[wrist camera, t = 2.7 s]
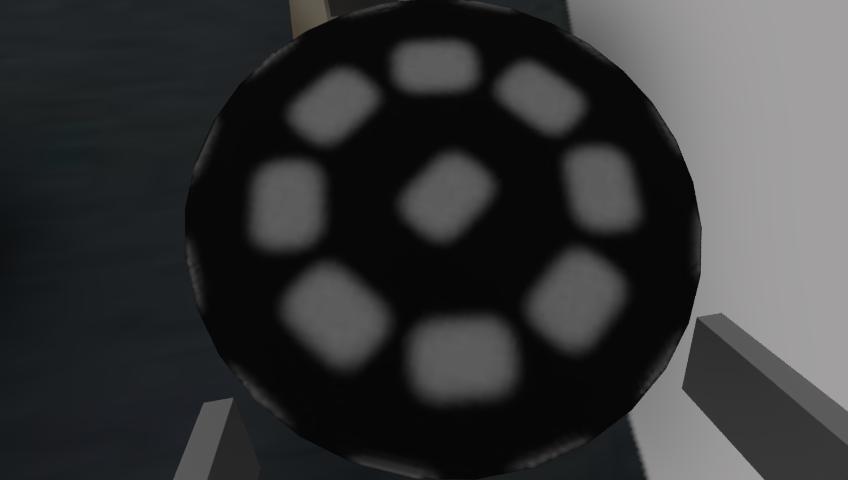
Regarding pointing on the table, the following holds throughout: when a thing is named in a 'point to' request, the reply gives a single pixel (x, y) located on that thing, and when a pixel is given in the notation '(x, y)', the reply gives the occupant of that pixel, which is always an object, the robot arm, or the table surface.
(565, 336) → the white-spotted black cylinder
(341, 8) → the block
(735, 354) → the robot arm
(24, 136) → the table surface
